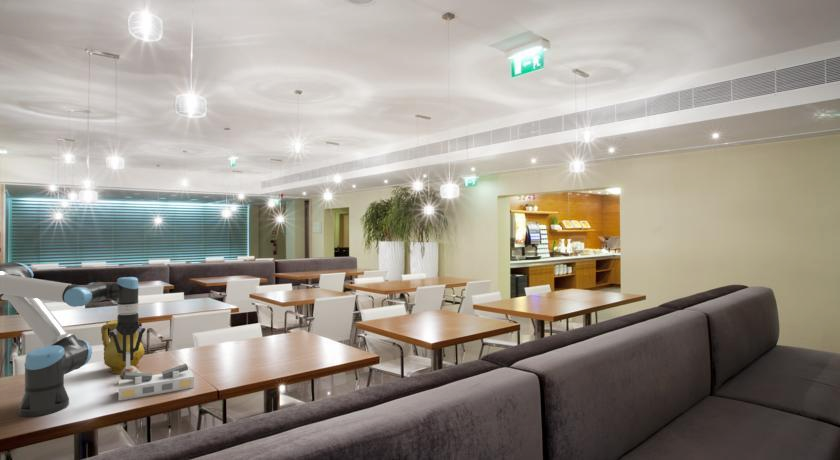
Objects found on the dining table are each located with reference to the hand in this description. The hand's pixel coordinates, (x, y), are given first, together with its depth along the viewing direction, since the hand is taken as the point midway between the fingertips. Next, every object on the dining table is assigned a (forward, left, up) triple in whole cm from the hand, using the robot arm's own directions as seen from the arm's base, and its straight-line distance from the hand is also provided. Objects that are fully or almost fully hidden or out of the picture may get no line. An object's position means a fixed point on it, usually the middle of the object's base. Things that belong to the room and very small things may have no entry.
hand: (128, 368), depth 187 cm
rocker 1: (+4, 0, -4) cm, 6 cm away
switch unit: (+11, 0, -11) cm, 16 cm away
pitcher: (-1, +42, -12) cm, 44 cm away
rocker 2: (+18, 0, -4) cm, 18 cm away
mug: (+3, +19, -12) cm, 23 cm away
